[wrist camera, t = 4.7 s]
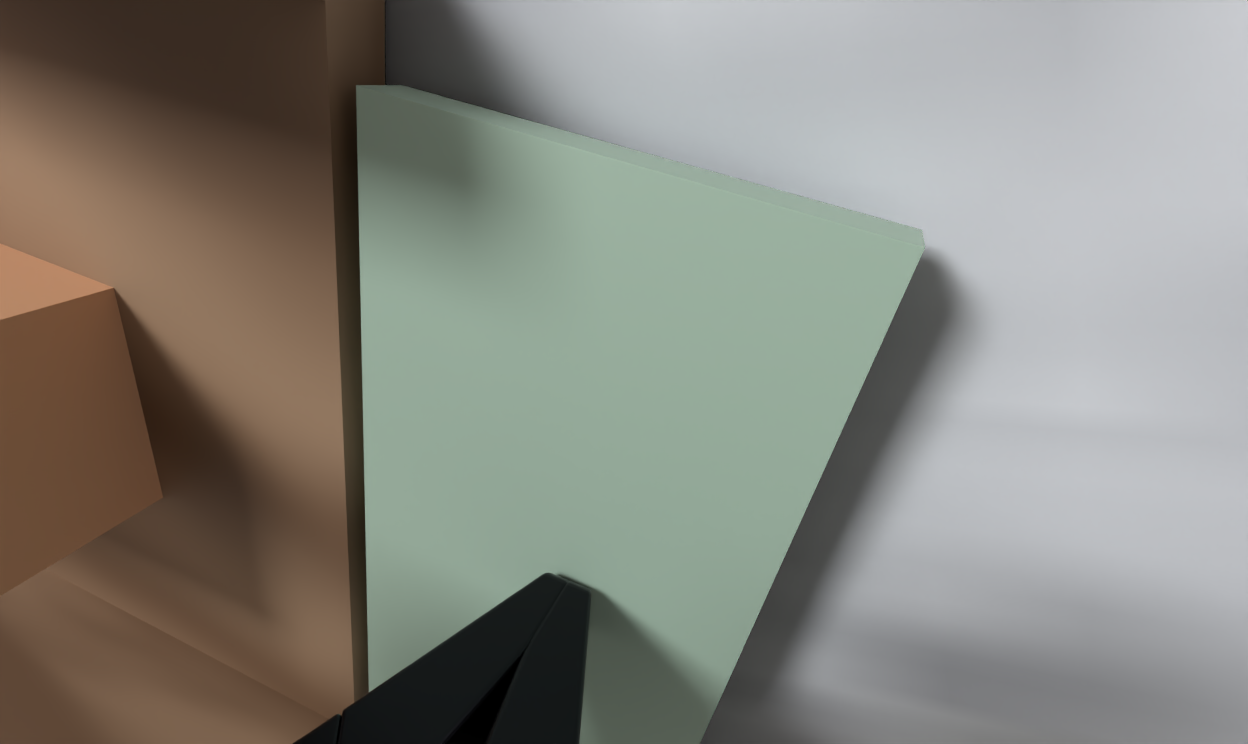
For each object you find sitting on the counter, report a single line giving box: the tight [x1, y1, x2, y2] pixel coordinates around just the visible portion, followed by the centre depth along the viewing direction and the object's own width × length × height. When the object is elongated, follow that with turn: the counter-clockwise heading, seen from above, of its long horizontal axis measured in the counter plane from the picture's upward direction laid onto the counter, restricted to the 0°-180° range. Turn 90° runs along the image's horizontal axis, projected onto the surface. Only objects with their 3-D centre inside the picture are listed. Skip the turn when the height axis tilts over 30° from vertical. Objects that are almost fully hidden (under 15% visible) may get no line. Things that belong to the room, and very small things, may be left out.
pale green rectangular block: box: [356, 85, 925, 744], centre depth 10 cm, size 13×1×6 cm
